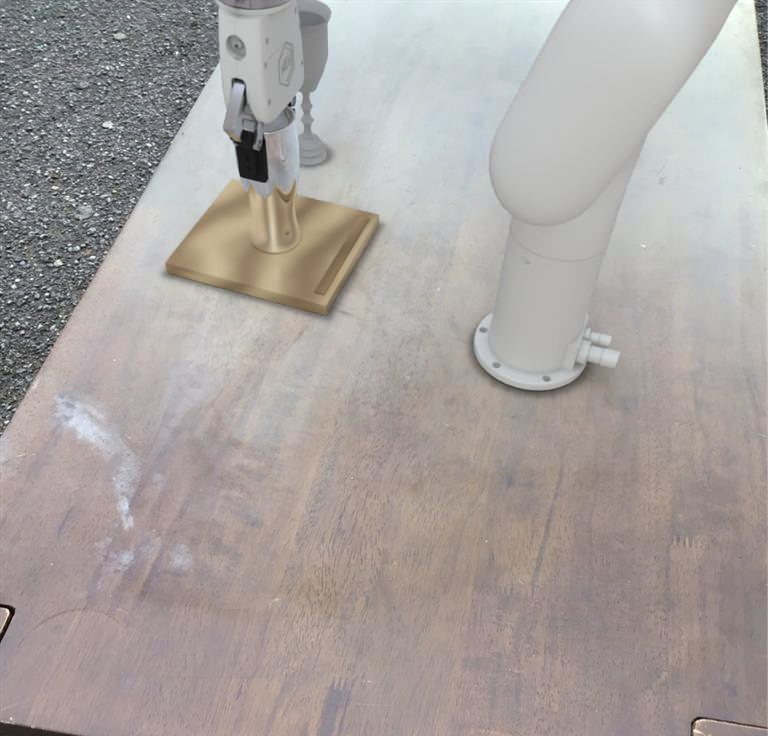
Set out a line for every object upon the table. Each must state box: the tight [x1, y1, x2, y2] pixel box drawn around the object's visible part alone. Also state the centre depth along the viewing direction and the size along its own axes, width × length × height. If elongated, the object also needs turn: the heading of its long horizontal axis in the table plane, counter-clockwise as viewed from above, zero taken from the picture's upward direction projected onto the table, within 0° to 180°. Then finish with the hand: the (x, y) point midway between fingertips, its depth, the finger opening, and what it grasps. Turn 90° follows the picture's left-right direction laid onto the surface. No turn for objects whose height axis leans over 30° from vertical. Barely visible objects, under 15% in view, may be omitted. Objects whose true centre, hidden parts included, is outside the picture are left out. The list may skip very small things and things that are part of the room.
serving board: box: [164, 178, 380, 317], centre depth 98 cm, size 20×18×2 cm
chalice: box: [296, 0, 332, 166], centre depth 103 cm, size 7×7×18 cm
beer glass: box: [234, 105, 301, 253], centre depth 91 cm, size 7×7×15 cm
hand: (268, 158), depth 89 cm, fingers closed on beer glass, 7 cm apart
